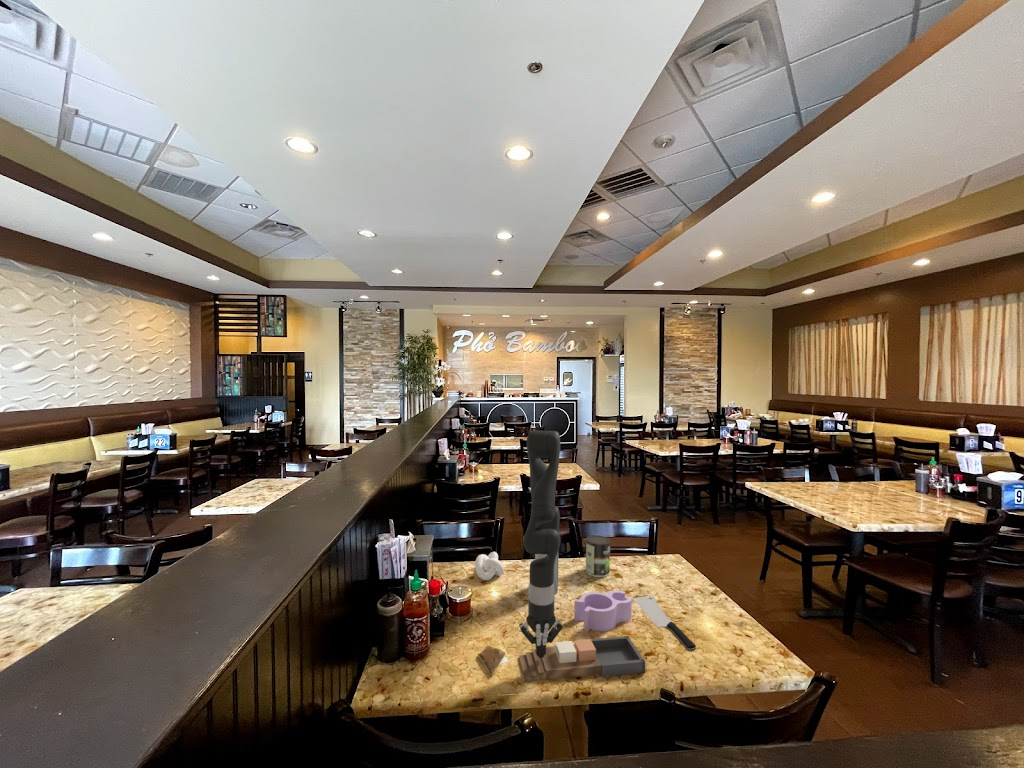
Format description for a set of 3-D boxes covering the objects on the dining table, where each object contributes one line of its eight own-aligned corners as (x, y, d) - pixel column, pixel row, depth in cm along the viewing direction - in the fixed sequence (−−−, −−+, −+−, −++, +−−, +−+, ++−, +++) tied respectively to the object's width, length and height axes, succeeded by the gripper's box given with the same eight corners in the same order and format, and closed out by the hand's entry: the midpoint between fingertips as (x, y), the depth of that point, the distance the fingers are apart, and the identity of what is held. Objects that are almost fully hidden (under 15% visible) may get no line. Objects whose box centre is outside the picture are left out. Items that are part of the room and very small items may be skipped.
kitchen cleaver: (627, 597, 163) (652, 592, 165) (628, 602, 163) (652, 597, 165) (671, 651, 132) (700, 644, 134) (671, 656, 132) (701, 649, 134)
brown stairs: (524, 681, 119) (524, 674, 119) (519, 657, 129) (519, 650, 129) (545, 679, 120) (546, 672, 120) (538, 655, 130) (538, 649, 130)
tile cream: (559, 663, 123) (559, 653, 123) (555, 652, 128) (555, 642, 128) (576, 661, 124) (576, 651, 124) (571, 650, 129) (571, 640, 129)
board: (545, 679, 120) (546, 670, 120) (538, 656, 130) (538, 647, 130) (600, 674, 122) (600, 665, 122) (589, 651, 132) (589, 643, 132)
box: (601, 676, 121) (601, 665, 121) (588, 649, 133) (588, 639, 133) (645, 672, 123) (645, 661, 123) (627, 646, 135) (628, 636, 135)
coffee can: (613, 570, 187) (613, 538, 186) (604, 579, 178) (605, 546, 178) (591, 564, 192) (591, 533, 192) (581, 573, 184) (582, 540, 183)
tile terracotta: (579, 661, 124) (579, 651, 124) (574, 650, 129) (574, 640, 129) (595, 659, 125) (596, 649, 125) (590, 648, 130) (590, 639, 129)
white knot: (474, 569, 186) (474, 549, 186) (502, 568, 187) (502, 548, 187) (475, 582, 175) (475, 560, 175) (504, 581, 176) (504, 559, 176)
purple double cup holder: (617, 604, 159) (617, 586, 159) (639, 623, 148) (639, 603, 148) (570, 615, 152) (570, 596, 152) (589, 635, 140) (589, 615, 140)
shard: (491, 679, 120) (491, 673, 120) (467, 672, 123) (467, 666, 123) (506, 656, 130) (506, 650, 130) (484, 650, 133) (484, 644, 133)
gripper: (520, 605, 120) (520, 666, 120) (566, 602, 121) (566, 662, 122) (516, 592, 127) (516, 649, 127) (560, 589, 129) (559, 645, 129)
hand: (540, 655), depth 125 cm, fingers closed
